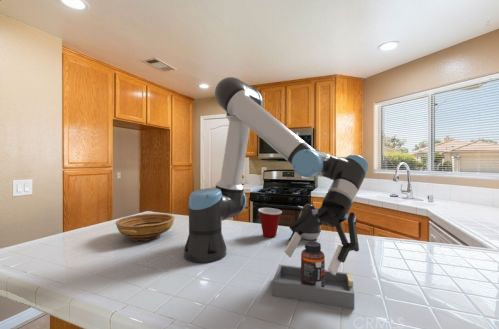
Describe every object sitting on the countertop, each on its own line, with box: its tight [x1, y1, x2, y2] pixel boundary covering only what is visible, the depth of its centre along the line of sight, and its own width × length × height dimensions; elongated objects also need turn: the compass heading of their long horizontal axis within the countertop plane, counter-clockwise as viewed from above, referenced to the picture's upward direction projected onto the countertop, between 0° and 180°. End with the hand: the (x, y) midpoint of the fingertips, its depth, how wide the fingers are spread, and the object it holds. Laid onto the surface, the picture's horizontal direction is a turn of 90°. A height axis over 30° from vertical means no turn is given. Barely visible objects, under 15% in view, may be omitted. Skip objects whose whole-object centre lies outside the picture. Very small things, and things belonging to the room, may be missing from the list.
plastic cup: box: [258, 207, 283, 239], centre depth 108 cm, size 11×11×12 cm
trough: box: [272, 264, 355, 310], centre depth 62 cm, size 19×10×5 cm, turn 73°
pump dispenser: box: [297, 203, 322, 241], centre depth 105 cm, size 10×10×15 cm
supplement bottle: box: [300, 240, 326, 287], centre depth 62 cm, size 6×6×11 cm
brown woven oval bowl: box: [115, 213, 176, 241], centre depth 107 cm, size 30×24×8 cm
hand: (307, 262), depth 61 cm, fingers open, 13 cm apart
